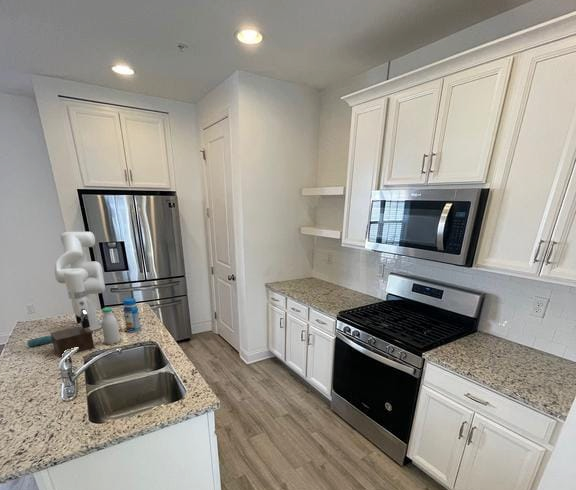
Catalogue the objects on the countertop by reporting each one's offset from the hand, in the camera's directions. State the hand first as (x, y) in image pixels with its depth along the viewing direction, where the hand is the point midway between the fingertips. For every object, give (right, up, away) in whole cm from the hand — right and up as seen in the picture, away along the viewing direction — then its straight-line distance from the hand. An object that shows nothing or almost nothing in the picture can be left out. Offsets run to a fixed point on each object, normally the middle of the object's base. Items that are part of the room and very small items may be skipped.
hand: (83, 325), depth 167 cm
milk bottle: (+10, -10, +10) cm, 17 cm away
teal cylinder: (-26, -11, +4) cm, 29 cm away
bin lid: (-4, -4, -3) cm, 7 cm away
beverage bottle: (+13, -3, +28) cm, 31 cm away
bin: (-5, -13, 0) cm, 14 cm away
